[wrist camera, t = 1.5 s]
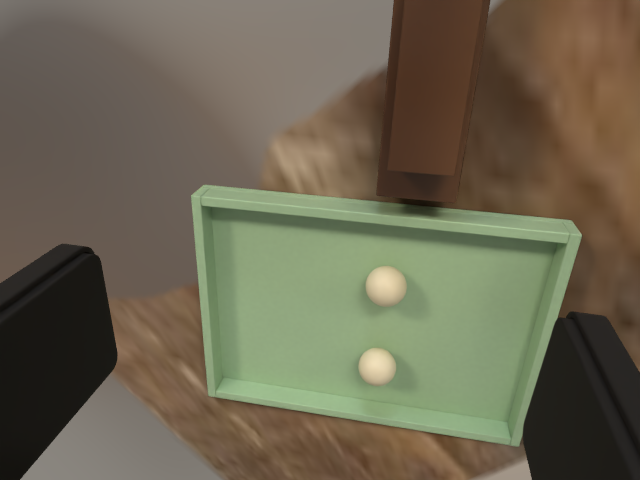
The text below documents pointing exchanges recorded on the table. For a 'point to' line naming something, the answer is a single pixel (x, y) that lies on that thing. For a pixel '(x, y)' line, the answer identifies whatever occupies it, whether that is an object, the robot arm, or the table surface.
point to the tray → (378, 307)
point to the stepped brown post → (429, 96)
